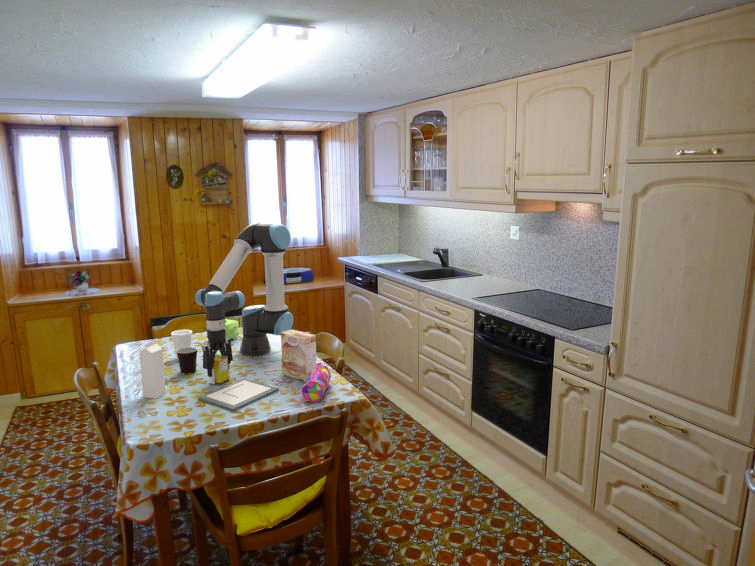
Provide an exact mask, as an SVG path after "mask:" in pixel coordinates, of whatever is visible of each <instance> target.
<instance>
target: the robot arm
mask: <svg viewBox="0 0 755 566" xmlns="http://www.w3.org/2000/svg"><path fill="white" fill-rule="evenodd" d="M291 239H292V238H291V233H290V231H289V228H287V226H286V225H284V224H282V223H277V222H276V223H274V222H272V223H271V222H268V223H267V222H253V223H251V224H249V225H248V226H246V227H245V228H244V229H242V231H241V232H239V234H238V235H237V236H236V238H235V239H234V240H233V246H232V248H231V249H230V251H229V252H228V253H227V255H226V257H225V258H224V260H223V261H222V263H221V265H220V266H219V267H218V269H217V270H216V272H215V273H214V275H213V277H212V278H211V280H210V282H208V284H207V286H206V288H202V289H199V290H197V291H196V292H195V296H194V299H195V303H196V304H197V305H199V306H201V307H204V308H205V309H204V310H205V323H206V336H207V337H206V338H207V340H208V342H207V344H205V345H202V346H201V349H202V369H204V370H207V377H208V381H209V384H212V385H216V384H215V374H214V369H212V368H213V364H214V359H215V355H217V353H218V351H219V353H220V355H223V356H228V371H229V370H230V365H231V363H232V361H234V357H233V350H232V339H228V338H225V337H226V329H225V319H226V317H225V316H226V315H225V313H228V312H231V311H234V310H238V309H240V308H242V310H241V326H242V340H241V343H240V344H241V345H240V348H239V352H240V354H242V355H244V356H261V355H265V354H268V353H270V352H271V350H272V346H271V343H270V341H269V338H268V335H267V334H269V335H275V336H281V332H284V331H288V330H291V329H292V327H293V325H294V315H293V313H291V312H290V311H289V306H288V305H287V304H286V303H285V280H284V277H285V276H284V254H285V253H286V252H287V249H288V248H289V247H290V244H291ZM256 248H260V253H261V254H262V255H263V256H264V273H265V274H264V276H265V277H264V278H265V294H266V297H265V299H266V301H265V302H266V304H257V305H251V306H250V305H249V306H246V307H244V306H245V303H246V297H245V295H244V293H243V292H241V291H240V290H236V291H234V290H233V291H231V292H230V291H226V289H227V288H228V287H229V284H230V283H231V281H232V280H233V278H234V276H235V275H236V274H237V272H238V270H239V269H240V268H241V266H242V265H243V263H244V261H245V260H246V258H247V257H248V255H249V254H251V253H253V251H254V249H256ZM243 307H244V308H243Z"/></svg>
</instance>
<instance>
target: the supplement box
mask: <svg viewBox="0 0 755 566" xmlns="http://www.w3.org/2000/svg"><path fill="white" fill-rule="evenodd" d="M212 369H214V374H215V384H214V385H219V386H220V385H221V386H222V384H224V383H227V382H228V381H230V377H229V376H230V375H229V373H230V372H229V370H228V356H223V355H221V354H215V359H214V364H213V368H212Z"/></svg>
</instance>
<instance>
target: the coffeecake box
mask: <svg viewBox="0 0 755 566" xmlns="http://www.w3.org/2000/svg"><path fill="white" fill-rule="evenodd" d="M316 336H317V335H316V334H313V333H309V332H305V331H300V330H296V329H292V328H291V330H288V331H284V332H281V335H280V340H281V341H280V343H281V347H280V348H281V349H280V350H281V371H282V372H281V373H282V374H283V375H282V376H285V375H287V376H286V377H289V376H290V377H289V378H292V377H293V378H292V379H295V378H297V379H296V380H298V379H301V380H305V381H307V380H308V378H309V374H310V372H311V371H312V370H313V368H314V367H316V364H317V338H316ZM301 380H300V381H301ZM305 381H304V382H305Z"/></svg>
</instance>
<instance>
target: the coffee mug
mask: <svg viewBox="0 0 755 566" xmlns="http://www.w3.org/2000/svg"><path fill="white" fill-rule="evenodd" d="M177 355H178V360H177V361H178V366H179V369H180V373H181V374H182V373H184V374H183V375H189V373H191V374H194V373H196V372H197V361H198V359H197V358H198V348H197V347H193V346H191V347H186V348H181V349H179V350H177ZM195 371H196V372H195Z"/></svg>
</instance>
